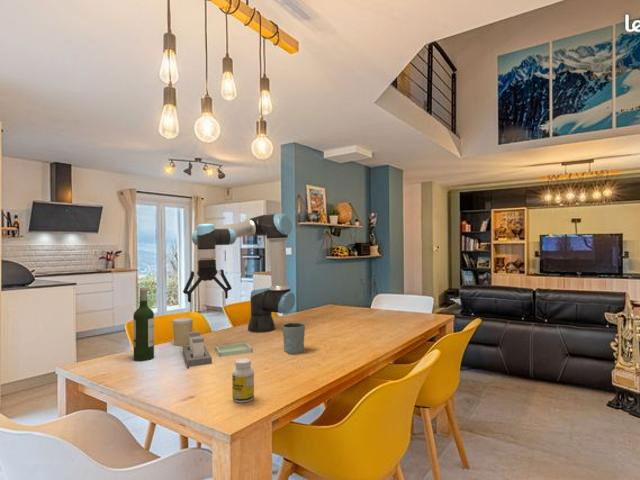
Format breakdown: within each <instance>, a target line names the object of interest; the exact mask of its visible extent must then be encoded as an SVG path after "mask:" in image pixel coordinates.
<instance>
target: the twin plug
mask: <svg viewBox="0 0 640 480" xmlns="http://www.w3.org/2000/svg"><path fill="white" fill-rule="evenodd" d="M192 337H201V332H200V330H192V331H191V332H189V345H188V346H189V350H192Z"/></svg>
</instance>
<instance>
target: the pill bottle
mask: <svg viewBox="0 0 640 480" xmlns="http://www.w3.org/2000/svg"><path fill="white" fill-rule="evenodd" d="M234 364H235V368H234V369H233V370H232V373H231V377H232V380H231V381H232V382H231V383H232V395H231V396H232V400H233V401H234V402H235V403H248V402H250V401H252V400H253V399H254V398H255V371H254V368H252V361H251V359H250V358H245V357H244V358H239V359H236V360H235V362H234Z"/></svg>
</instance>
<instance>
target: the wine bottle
mask: <svg viewBox="0 0 640 480" xmlns="http://www.w3.org/2000/svg"><path fill="white" fill-rule="evenodd" d="M147 291H148V288H147V287H146V286H145V287H140V289H139V306H138V308H137V309H136V310H134V313H133V315H132V317H133V319H132V320H133V321H132V322H133V323H132V324H133V327H132V328H133V361H134V362H135V361H136V362H146V361H150V360H152V359H154V358H155V320H154V319H155V317H154V316H155V314H154V310H152V309H151V308H150V307H149V306H148V305H149V304H148V292H147Z"/></svg>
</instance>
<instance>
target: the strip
mask: <svg viewBox="0 0 640 480" xmlns="http://www.w3.org/2000/svg"><path fill="white" fill-rule="evenodd" d="M182 355H183V359H184V361H185V364H186V368H187V369H190V368H192V367H198V366H199V367H200V366H205V365H206V366H207V365H212V363H213V362H212V361H213V357H212V355H211V354H210V352H209V351H208V349H207V347H206V346H205V344H204V356H202V357H195V358H193V356H192V350H189V345H186V346H182Z"/></svg>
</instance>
